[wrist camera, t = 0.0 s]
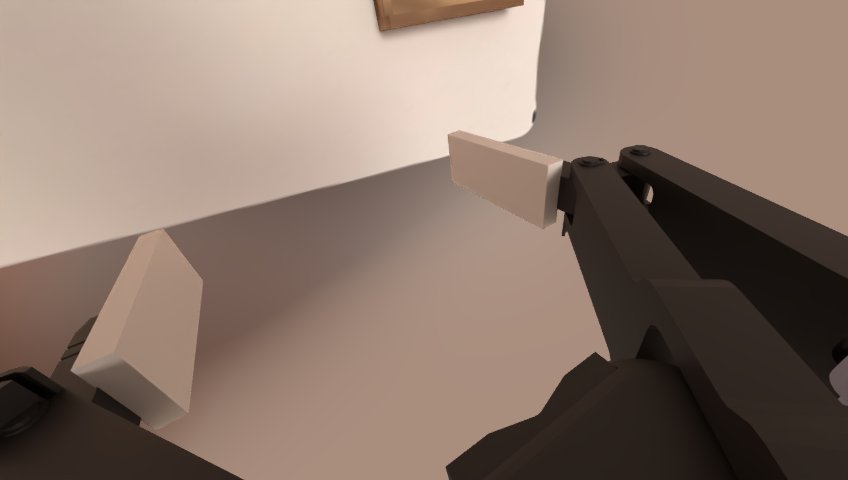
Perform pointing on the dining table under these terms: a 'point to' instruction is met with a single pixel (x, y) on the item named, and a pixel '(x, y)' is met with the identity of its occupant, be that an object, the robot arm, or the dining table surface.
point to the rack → (432, 10)
